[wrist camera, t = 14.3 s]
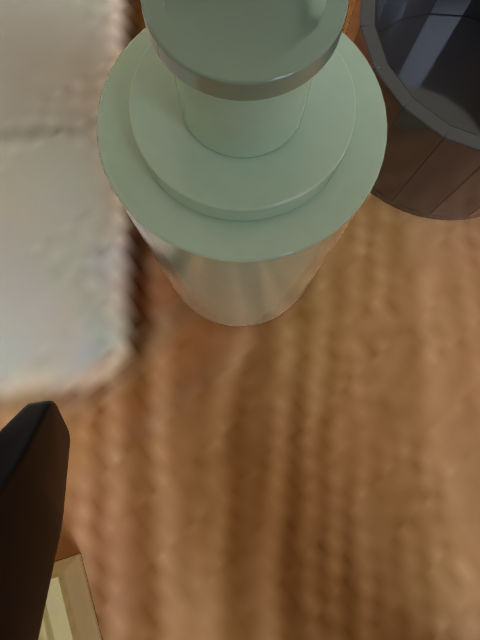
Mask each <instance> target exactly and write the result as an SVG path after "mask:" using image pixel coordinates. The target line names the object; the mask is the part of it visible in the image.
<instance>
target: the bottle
mask: <svg viewBox="0 0 480 640" xmlns="http://www.w3.org/2000/svg"><path fill="white" fill-rule="evenodd" d="M141 6H142V13H143V17H144V21H145V25H146V28H144V29H143V30H142V31H141V32H140V33H139V34H138V35H137V36H136V37H135V38H134V39H133V40H132V41H131V42H130V43H129V44H128V46H127V47H126V48H125V49H124V50H123V52H122V53H121V54H120V56H119V57H118V59H117V61H116V62H115V64H114V65H113V67H112V69H111V71H110V73H109V75H108V78H107V80H106V82H105V84H104V88H103V91H102V95H101V98H100V102H99V109H98V116H97V141H98V148H99V154H100V158H101V161H102V165H103V168H104V172H105V174H106V176H107V178H108V180H109V183H110V185H111V187H112V189H113V190H114V192H115V194H116V195H117V197H118V199H119V200H120V202H121V203H122V205H123V207H124V208H125V210H126V211H127V213H128V215H129V216H130V218H131V219H132V221H133V223H134V224H135V226H136V228H137V229H138V231H139V232H140V234H141V236H142V237H143V239H144V240H145V242H146V244H147V245H148V247H149V249H150V250H151V252H152V253H153V255H154V257H155V258H156V260H157V261H158V263H159V265H160V266H161V268H162V269H163V271H164V273H165V274H166V276H167V278H168V279H169V281H170V282H171V284H172V286H173V287H174V289H175V290H176V292H177V294H178V295H179V297H180V298H181V299H182V300H183V301H184V303H185V304H186V305H187V306H189V307H190V308H191V309H192V310H193V311H194V312H196V313H197V314H199V315H200V316H202V317H204V318H206V319H208V320H210V321H213V322H216V323H218V324H223V325H227V326H237V327H240V326H252V325H258V324H261V323H264V322H267V321H269V320H272V319H274V318H276V317H278V316H279V315H281V314H282V313H284V312H285V311H286V310H288V309H289V308H290V307H291V306H292V305H293V304H294V303H295V302H296V301H297V300H298V299H299V297H300V296H301V294H302V293H303V291H304V290H305V288H306V287H307V285H308V284H309V283H310V281H311V280H312V278H313V277H314V275H315V274H316V272H317V271H318V269H319V268H320V266H321V265H322V263H323V262H324V260H325V259H326V257H327V256H328V254H329V253H330V251H331V250H332V249H333V247H334V246H335V244H336V243H337V241H338V240H339V238H340V237H341V235H342V234H343V232H344V231H345V229H346V228H347V226H348V225H349V223H350V222H351V220H352V219H353V217H354V216H355V215H356V213H357V212H358V210H359V209H360V207H361V206H362V204H363V203H364V201H365V200H366V198H367V197H368V195H369V194H370V192H371V190H372V188H373V186H374V184H375V182H376V180H377V178H378V176H379V173H380V170H381V167H382V164H383V160H384V155H385V150H386V144H387V117H386V108H385V103H384V99H383V95H382V91H381V88H380V86H379V83H378V81H377V78H376V76H375V73H374V72H373V70H372V68H371V66H370V65H369V63H368V61H367V60H366V58H365V57H364V55H363V54H362V53H361V51H360V50H359V49H358V47H357V46H356V45H355V44H354V43H353V42H352V41H351V40H350V39H349V38H348V37H347V36H346V35H345V34H344V33H343V32H342V30H343V27H344V24H345V20H346V16H347V12H348V7H349V0H141Z"/></svg>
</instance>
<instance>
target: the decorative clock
mask: <svg viewBox="0 0 480 640" xmlns="http://www.w3.org/2000/svg"><path fill="white" fill-rule="evenodd" d="M38 640H102V638H101V634H100V630H99V626H98V622H97V618H96V614H95V610H94V606H93V602H92V598H91V594H90V590H89V586H88V581H87V577H86V573H85V569H84V565H83V561H82V557H81V553H80V554H77V555H74V556H71V557H68V558H65V559H62V560H59V561H56V562H54V567H53V572H52V577H51V581H50V586H49V591H48V596H47V601H46V605H45V610H44V615H43V620H42V625H41V629H40V634H39V639H38Z"/></svg>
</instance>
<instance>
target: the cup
mask: <svg viewBox="0 0 480 640" xmlns="http://www.w3.org/2000/svg"><path fill="white" fill-rule="evenodd" d="M346 36H347V37H348V38H349V39H350V40H351V41H352V42H353V43H354V44H355V45H356V46H357V47H358V49H359V50H360V51H361V53H362V54H363V55H364V57H365V58H366V60H367V61H368V63H369V65H370V66H371V68H372V70H373V72H374V73H375V76H376V78H377V81H378V83H379V86H380V88H381V91H382V95H383V99H384V103H385V108H386V117H387V144H386V150H385V155H384V160H383V164H382V167H381V170H380V173H379V176H378V178H377V180H376V182H375V184H374V186H373V188H372V190H371V192H372V193H373V194H374V195H376V196H377V197H379V198H380V199H382V200H383V201H385V202H386V203H388V204H390V205H392V206H394V207H396V208H398V209H400V210H402V211H405V212H408V213H411V214H414V215H417V216H421V217H426V218H431V219H439V220H465V219H471V218H477V217H480V0H356V3H355V6H354V9H353V13H352V16H351V19H350V23H349V26H348V29H347V32H346Z"/></svg>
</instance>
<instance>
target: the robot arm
mask: <svg viewBox="0 0 480 640" xmlns="http://www.w3.org/2000/svg"><path fill="white" fill-rule="evenodd" d="M69 448H70V435H69V431H68V428H67V426H66V424H65V422H64V420H63V418H62V416H61V414H60V412H59V409H58V407H57V405H56V404H55V403H54V402H53V401H41V402H34V403H30V404H28V405H26V406H25V407H24V408H23V409H22V410H21V411H20V412H19V413H18V414H17V415H16V416H15V417H14V418H13V419H12V420H11V421H10V422H9V423H8V424H7V425H6V426H5V427H4V428H3V429H2V430H1V431H0V640H38V639H39V634H40V629H41V625H42V620H43V615H44V610H45V605H46V601H47V596H48V591H49V586H50V581H51V577H52V572H53V567H54V562H55V557H56V553H57V548H58V543H59V538H60V533H61V527H62V520H63V512H64V501H65V491H66V480H67V469H68V458H69Z"/></svg>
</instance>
